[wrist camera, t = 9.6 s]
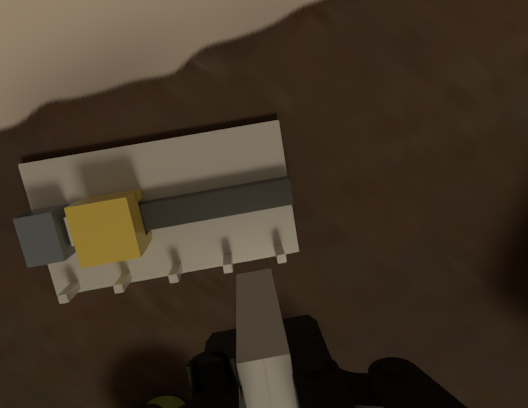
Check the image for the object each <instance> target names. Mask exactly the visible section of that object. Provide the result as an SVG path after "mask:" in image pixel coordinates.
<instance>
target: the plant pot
mask: <svg viewBox="0 0 528 408" xmlns="http://www.w3.org/2000/svg"><path fill="white" fill-rule="evenodd" d="M149 403H152V404H158V405H160V406H161V407H163V408H179V407H181V406H182V405H184V404H186V403H184V402H183V401H182V400H181V399H180V398H178V397H174V396H160V397H156V398H154V399H152V400H150V401H149V402H148V403H147V404H149Z"/></svg>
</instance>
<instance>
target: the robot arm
mask: <svg viewBox="0 0 528 408" xmlns="http://www.w3.org/2000/svg"><path fill="white" fill-rule="evenodd" d="M186 369H187V373H188V377H189V382H190V386H191V391H192V397H191V400H190V401H189V402H187V403H186V404H184V405H182V406H181V407H179V408H467V407H466V406H465V405H463V404H462V403H461V402H460V401H459V400H457V399H456V398H455V397H454V396H453V395H451V394H450V393H449V392H448V391H446V390H445V389H444V388H443V387H442V386H440V385H439V384H438V383H437V382H435V381H434V380H433V379H432V378H431V377H429V376H428V375H427V374H426V373H424V372H423V371H422V370H421V369H420V368H418V367H417V366H416V365H415V364H413V363H411V362H410V361H408V360H405V359H401V358H397V357H387V358H382V359H379V360H377V361H375V362H373V363H372V364H371V365H370V367H369V368H368V373H354V372H349V371H345V370H343V369H341V368H339V366H338V364H337V363H336V362H335V361H334V360H332V359H331V356H330V354H329V351H328V349H327V346H326V344H325V341H324V339H323V336H322V334H321V331H320V329H319V326H318V324H317V321H316V320H315V319H313V318H312V317H311V316H309V315H303V316H298V317H292V318H287V319H282V316H281V312H280V308H279V303H278V299H277V294H276V290H275V285H274V281H273V277H272V272H271V269H265V270H260V271H254V272H248V273H243V274H237V304H236V329H232V330H227V331H221V332H216V333H212V335H211V336H210V337H209V339H208V340H207V341H206V345H205V352H202V353H200V354H198V355H196V356H195V357H194V358H192V359H191V360H190V361H189V363H188V365H187V367H186ZM135 408H163V407H161V406H160V405H158V404H152V403H149V404H143V405H140V406H137V407H135Z"/></svg>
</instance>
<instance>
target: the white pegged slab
mask: <svg viewBox="0 0 528 408" xmlns="http://www.w3.org/2000/svg"><path fill="white" fill-rule="evenodd" d="M18 167H19V170H20V173H21V177H22V180H23V183H24V187H25V190H26V194H27V197H28V200H29V204H30V207H31V210H32V211H30V212H27V213H25V214H23V215H21V216H18V217H16V218H14V219H13V222H14V225H15V228H16V232H17V235H18V238H19V241H20V244H21V248H22V251H23V254H24V257H25V260H26V264H27V267H28V268H29V267H35V266H40V265H46V264H48V267H49V270H50V274H51V277H52V280H53V284H54V287H55V291H56V294H57V297H58V300H59V303H60V304H62V303H67V302H69V301H70V300H71V299H72V298H73V297H74V296H75V295H76V294H77V293H78V292H82V291H87V290H93V289H98V288H104V287H109V286H113V288H114V291H115V294H116V293H122V292H124V291H125V290H126V288H127V287H128V285H129V283H131V282H136V281H142V280H147V279H153V278H158V277H163V276H168V277H169V282H170V283H176V282H179V280H180V277H181V274H182V273H185V272H191V271H196V270H202V269H207V268H212V267H218V266H223V270H224V274H225V273H230V272H233V264H234V263H240V262H245V261H251V260H256V259H262V258H267V257H272V256H276V258H277V262H278V264H279V263H284V262H287V261H286V255H285V254H289V253H294V252H299V248H298V242H297V235H296V229H295V222H294V216H293V209H292V205H293V204H294V201H293V194H292V188H291V181H290V178H289V177H288V176H287V171H286V164H285V158H284V151H283V145H282V138H281V132H280V126H279V120H274V121H268V122H262V123H257V124H251V125H245V126H239V127H233V128H227V129H222V130H216V131H210V132H204V133H198V134H192V135H186V136H181V137H175V138H169V139H163V140H157V141H151V142H145V143H140V144H134V145H128V146H122V147H116V148H110V149H104V150H99V151H93V152H87V153H81V154H75V155H69V156H63V157H58V158H52V159H46V160H40V161H34V162H28V163H23V164H18ZM139 188H141V192H142V196H143V198H142V199H140V200H139V201H138V205H139V209H140V213H141V217H142V222H143V226H144V230H145V231H149V230H151V234H152V241H151V242H150V244H149V245H148V248H147V249H146V251H145V252H144V254H143V255H142V257H141V258H136V259H130V260H125V261H119V262H114V263H108V264H103V265H97V266H92V267H86V268H81V267H80V264H79V260H78V257H77V253H76V250H75V246H74V243H73V239H72V235H71V232H70V228H69V225H68V221H67V218H66V214H65V210H64V208H65V207H67V206H69V205H71V204H73V203H75V202H77V201H80V200H83V199H85V198H87V197H93V196H99V195H104V194H110V193H116V192H122V191H127V190H133V189H139Z"/></svg>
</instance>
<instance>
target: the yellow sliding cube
mask: <svg viewBox="0 0 528 408" xmlns="http://www.w3.org/2000/svg"><path fill="white" fill-rule="evenodd" d="M142 198H143V196H142V192H141V188H139V189H133V190H127V191H122V192H116V193H110V194H104V195H99V196H93V197H87V198H85V199H83V200H80V201H77V202H75V203H73V204H71V205H69V206H67V207H65V208H64V210H65V214H66V218H67V221H68V225H69V228H70V232H71V235H72V239H73V243H74V246H75V250H76V253H77V257H78V260H79V264H80V267H81V268H86V267H92V266H97V265H103V264H108V263H114V262H119V261H125V260H130V259H136V258H141V257H142V255H143V254H144V252H145V251H146V249H147V248H148V245H149V244H150V242H151V241H152V234H151V230H149V231H145V230H144V226H143V222H142V217H141V213H140V209H139V205H138V201H139V200H140V199H142Z"/></svg>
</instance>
